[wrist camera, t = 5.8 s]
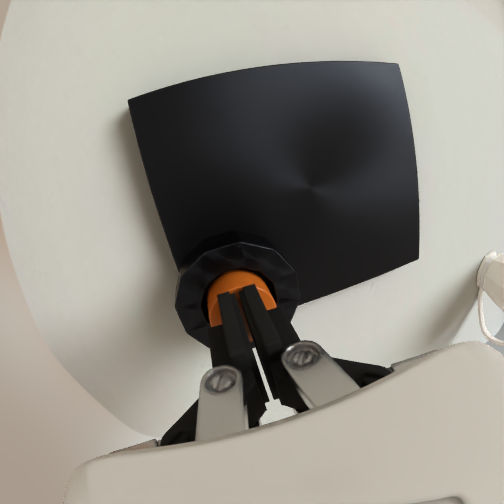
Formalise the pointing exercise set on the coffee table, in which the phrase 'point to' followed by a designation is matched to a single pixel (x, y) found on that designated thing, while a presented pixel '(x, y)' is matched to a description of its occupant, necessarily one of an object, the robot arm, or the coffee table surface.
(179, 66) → the coffee table surface
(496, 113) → the coffee table surface
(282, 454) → the robot arm
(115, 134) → the coffee table surface
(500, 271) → the cup
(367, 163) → the scale
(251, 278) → the button
